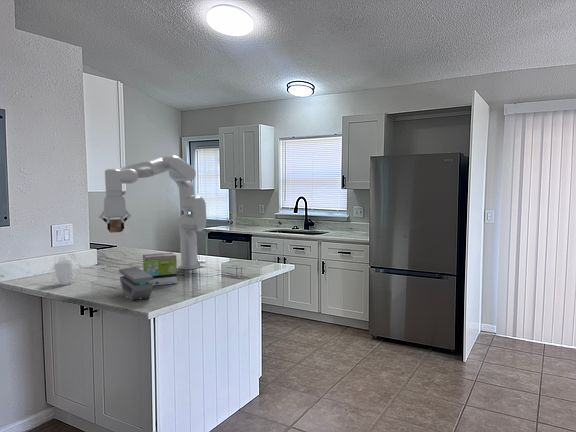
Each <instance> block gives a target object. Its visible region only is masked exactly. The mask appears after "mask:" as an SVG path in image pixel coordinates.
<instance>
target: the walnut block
mask: <svg viewBox="0 0 576 432" xmlns="http://www.w3.org/2000/svg"><path fill="white" fill-rule="evenodd" d="M122 232H123V231H121V218H117V219H116V218H115V219H114V218H113V219H112V218H110V232H109V233H113V234H114V233H122Z"/></svg>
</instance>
